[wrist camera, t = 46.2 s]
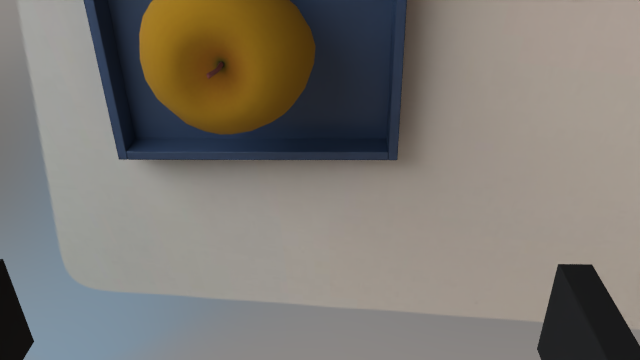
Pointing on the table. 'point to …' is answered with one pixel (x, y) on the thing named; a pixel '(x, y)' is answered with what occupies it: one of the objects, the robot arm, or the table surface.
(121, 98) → the fruit tray
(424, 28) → the table surface
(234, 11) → the apple
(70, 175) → the table surface
